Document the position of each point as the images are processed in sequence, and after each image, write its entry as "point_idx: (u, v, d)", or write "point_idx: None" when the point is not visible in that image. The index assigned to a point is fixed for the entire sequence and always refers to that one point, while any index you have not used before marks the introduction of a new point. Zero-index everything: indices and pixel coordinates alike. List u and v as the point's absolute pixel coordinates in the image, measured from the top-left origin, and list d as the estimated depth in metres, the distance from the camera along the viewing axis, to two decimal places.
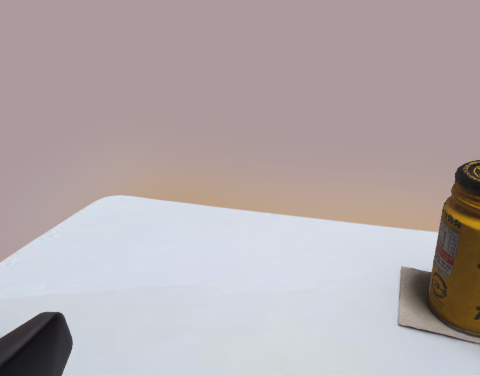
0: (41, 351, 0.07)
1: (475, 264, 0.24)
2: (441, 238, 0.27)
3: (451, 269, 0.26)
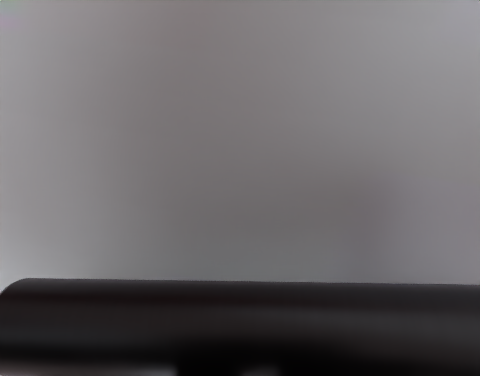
0: None
1: None
2: None
3: None
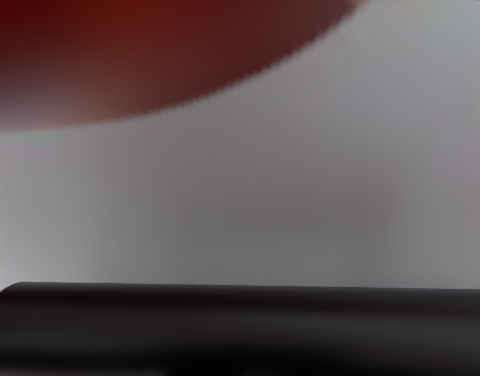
0: None
1: None
2: None
3: None
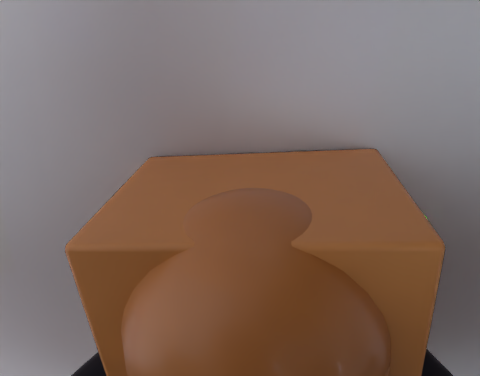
0: None
1: None
2: None
3: None
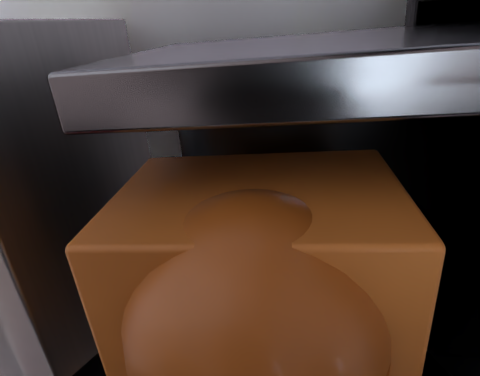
0: None
1: None
2: None
3: None
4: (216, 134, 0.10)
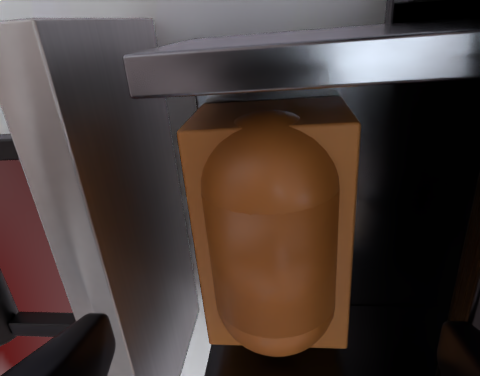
0: (90, 353, 0.07)
1: None
2: None
3: None
4: None
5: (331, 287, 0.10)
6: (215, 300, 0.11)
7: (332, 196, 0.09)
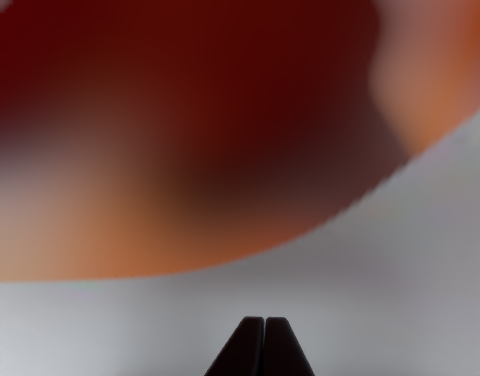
0: (262, 359, 0.07)
1: None
2: None
3: None
4: None
5: None
6: None
7: None
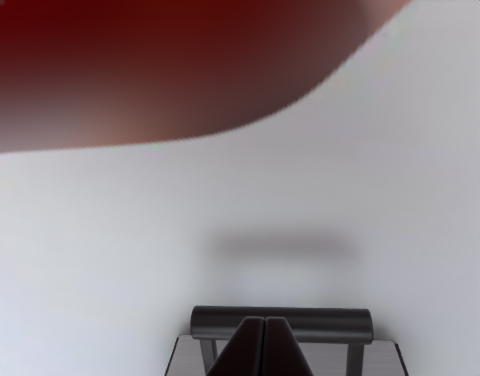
0: None
1: None
2: None
3: None
4: None
5: None
6: None
7: None
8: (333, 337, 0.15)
